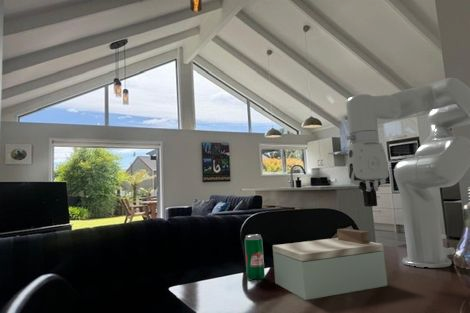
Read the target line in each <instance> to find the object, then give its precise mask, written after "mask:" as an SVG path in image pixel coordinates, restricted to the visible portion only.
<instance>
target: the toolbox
mask: <svg viewBox="0 0 470 313" xmlns="http://www.w3.org/2000/svg"><path fill="white" fill-rule="evenodd" d="M272 256H273V268H274V269H273V270H274V271H273V272H274V283H275V284H276V285H278V286H280V287H282V288H284V289H285V290H287V291H289V292H291V294H294V295H295V296H297V297H299V298H301V299H302V300H304V301H307V300H309V301H310V300H314V299H320V298H324V297H330V296H336V295H342V294H347V293H354V292H358V291H365V290H371V289H376V288H381V287H382V288H383V287H387V286H388V278H387V270H386V260H385V259H386V258H385V251H384V250H383V251H375V252H368V253H361V254H353V255H346V256H339V257H331V258H324V259H317V260H309V261H299V260H297V259H294V258H291V257H288V256H285V255H282V254H279V253H277V252H274V251H272Z"/></svg>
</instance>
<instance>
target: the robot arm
mask: <svg viewBox="0 0 470 313" xmlns="http://www.w3.org/2000/svg"><path fill="white" fill-rule="evenodd" d="M345 103H346V104H345V105H346V115H347V116H346V117H347V124H348V135H347V136H346V141H349V143H350V144H349V145H348V147H347V148H348V149H347V173H348V174H347V175H348V177H349V180H350V185H351V186H355V187H358V188H359V189H360V192H361V193H362V195H363V196H362V198H363V204H364V207H370V208H371V207H378V198H377V196H378V195H377V192H378V191H379V188H380V186H381V185H383V184H386V182H387V181H386V180H387V178H389V176H390V175H389V166H388V160H387V155H386V152H385V148H384V146H383V143H382V142H381V143H380V138H379V129H378V128H379V127H378V125H381V124H384V123H389V122H392V121H395V120H402V119H405V118H409V117H413V116H417V115H420V114H423V113H425V112H426V113H427V112H428V114H427V118H426V119H427V120H426V122H427V127H428V132H429V135H428V137H427V138H426V139H425V140H424V141H423V142H422V143H421V145H420V146H419V147H418V148H417V150H415V153H414V157H413V156H412V157H407V158H404V159H401V160H400V161H398V162H397V163H396V164H395V166H394V169H393V176H394V179H395V182H396V185H397V188H398V191H399V196H400V203H401V208H402V209H401V211H402V218H403V226H404V236H405V243H406V251H407V252H406V253H407V256H404V257H402V263H403V264H404V265H406V266H409V265H410V267H414V266H416V267H417V268H424V267H428V268H427V269H429V268H430V269H438V268H439V269H440V268H447V267H450V266H452V265H451V264H453V263H452V260H451V259H450V258H448V256H449V255H450V256H451V255H454V253H455V254H456V252H455V251H456V250H457V249H455V248H454V247H446V246H444V242H443V236H442V230H441V229H442V227H441V221H440V220H441V219H440V212H439V205H438V201H437V199H436V198H435V196H434V195H433V193H432V192H431V191H430V189H431V188H432V189H435V188H438V189H439V188H450V187H452V186H455V185H456V184H458V183H459V181H460V180H461V179H462V178H463V177H464V175H465V174H467V171H468V170H469V169H470V138H468V137H466V136H465V135H456V134H455V133H454V132H453V131H452V130H450V129H454V128H459V127H462V126H468V125H470V87H469V86H467V84H465V83H464V82H463V81H461V80H460V79H458V78H455V77H447V78H442V79H440V80H437V81H434V82H432V83H428V84H424V85H421V86H417V87H413V88H407V89H404V90H401V91H397V92H395V93H392V94H390V95H389V94H387V95H386V94H384V95H371V94H366V93H364V94H357V95H353V96H350V97H349V98H348V99H347V100H346V102H345Z"/></svg>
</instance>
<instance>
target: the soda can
mask: <svg viewBox="0 0 470 313" xmlns="http://www.w3.org/2000/svg"><path fill="white" fill-rule="evenodd" d="M244 250H245V255H244V256H245V267H246V278H247V280H249V281H253V280H257V281H262V280H263V279H264V278H265V277H266V276H265V275H266V274H265V262H264V246H263V238H262V236H261V234H258V233H257V234H255V233H254V234H253V233H252V234H246V235H245V238H244Z"/></svg>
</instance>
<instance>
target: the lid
mask: <svg viewBox="0 0 470 313" xmlns="http://www.w3.org/2000/svg"><path fill="white" fill-rule="evenodd" d="M336 233H337V237H334V238H325V239H316V240H307V241H301V242H300V241H299V242H293V243H290V242H289V243H283V244H273V245H272V252H277V253H279V254H282V255H285V256H288V257H291V258H294V259H297V260H299V261H309V260H317V259H324V258H331V257H339V256H346V255H353V254H361V253H368V252H375V251H384V244H383V243H380V242H379V243H378V242H373V241H370V233H369V231H366V230H365V231H364V230H358V229H350V228H337V229H336Z"/></svg>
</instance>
